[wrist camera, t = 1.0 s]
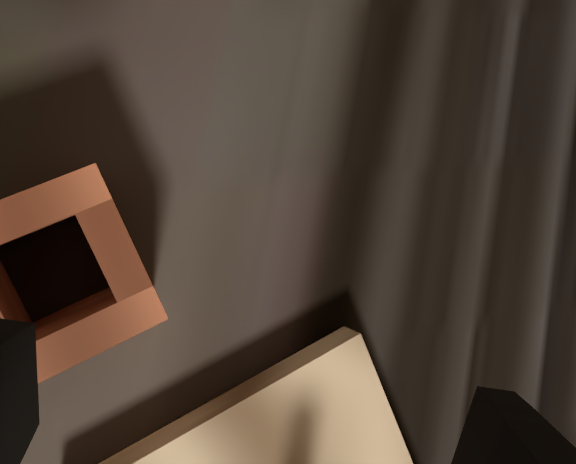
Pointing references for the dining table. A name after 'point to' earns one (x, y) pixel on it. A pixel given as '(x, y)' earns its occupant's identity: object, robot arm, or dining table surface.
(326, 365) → the lacing board
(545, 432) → the robot arm
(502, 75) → the dining table surface
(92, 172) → the bead
